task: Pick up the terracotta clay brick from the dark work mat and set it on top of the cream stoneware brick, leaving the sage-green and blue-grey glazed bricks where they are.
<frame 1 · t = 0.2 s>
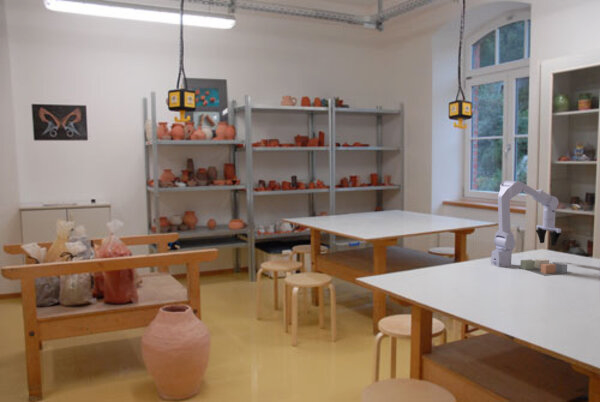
hand: (547, 244, 261), 10 cm above the table, tool pointing down, fingers open, 7 cm apart
bluegrey brick: (559, 271, 240), resting on work mat
cream brick: (541, 267, 248), resting on work mat
terracotta brick: (547, 272, 238), resting on work mat
work mat: (543, 271, 242), on the table
sage brick: (527, 268, 247), resting on work mat
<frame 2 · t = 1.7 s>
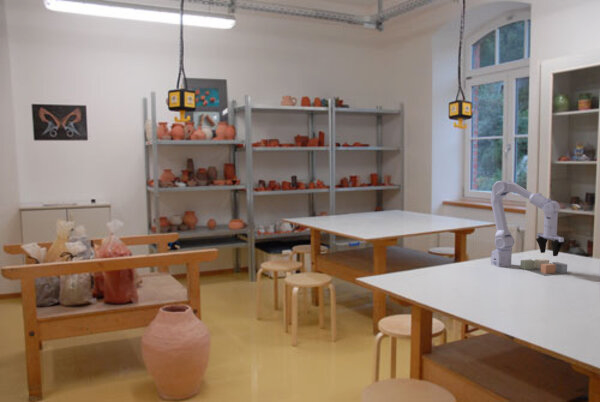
hand: (548, 254, 237), 9 cm above the table, tool pointing down, fingers open, 7 cm apart
nothing on the table moved.
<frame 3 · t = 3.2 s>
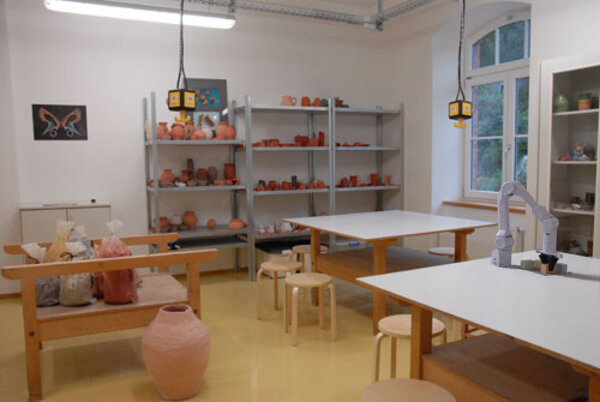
hand: (548, 270, 238), 2 cm above the table, tool pointing down, fingers closed on terracotta brick, 3 cm apart
terracotta brick: (547, 272, 238), resting on work mat, touching gripper
everything else where it was.
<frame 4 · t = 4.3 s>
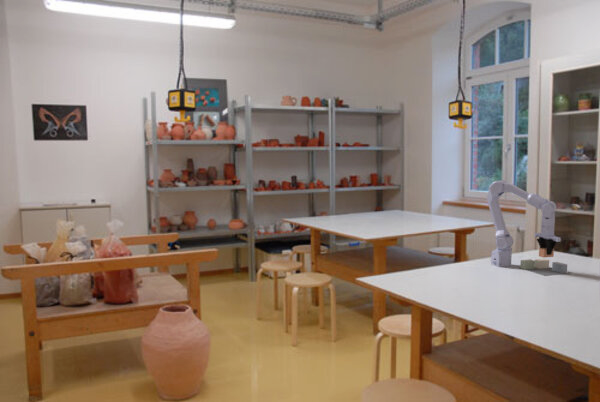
hand: (546, 253, 241), 9 cm above the table, tool pointing down, fingers closed on terracotta brick, 3 cm apart
terracotta brick: (546, 256, 241), point 8 cm above the table, touching gripper
everything else where it was.
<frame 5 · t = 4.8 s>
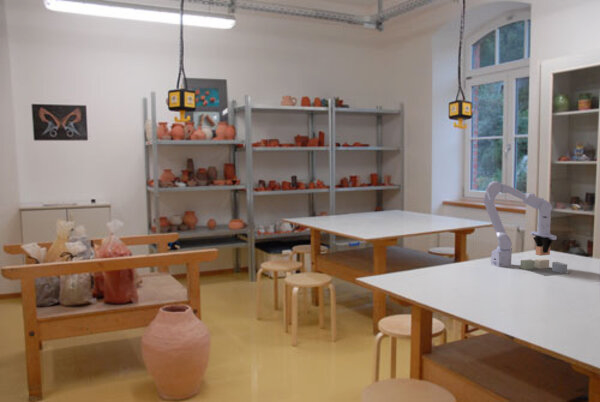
hand: (542, 251, 248), 9 cm above the table, tool pointing down, fingers closed on terracotta brick, 3 cm apart
terracotta brick: (542, 254, 248), point 7 cm above the table, touching gripper
everything else where it was.
when the fingers open (7 cm above the table, at t = 5.3 s): terracotta brick stays where it is, resting on cream brick.
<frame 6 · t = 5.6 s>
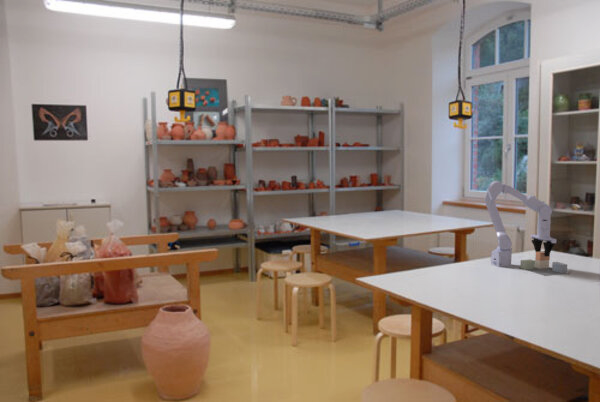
hand: (542, 255, 248), 7 cm above the table, tool pointing down, fingers open, 5 cm apart
cream brick: (541, 267, 248), resting on work mat, touching terracotta brick
terracotta brick: (542, 259, 248), point 4 cm above the table, touching cream brick
everything else where it was.
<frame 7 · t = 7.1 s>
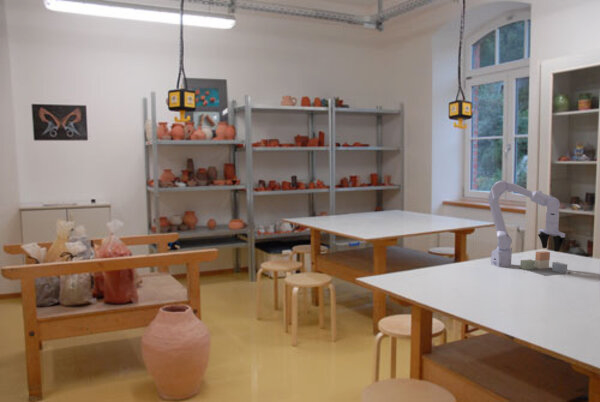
hand: (550, 249, 244), 10 cm above the table, tool pointing down, fingers open, 7 cm apart
nothing on the table moved.
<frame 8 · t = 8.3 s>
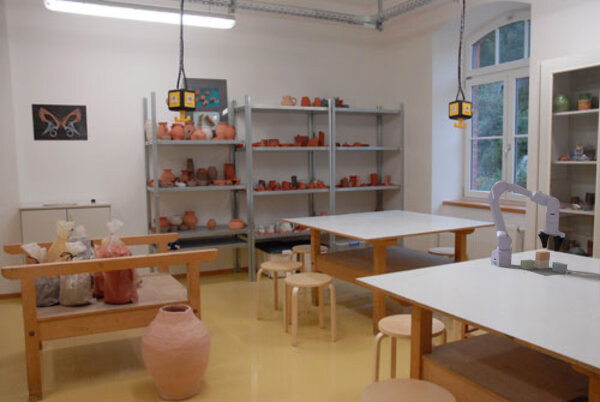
hand: (550, 249, 244), 10 cm above the table, tool pointing down, fingers open, 7 cm apart
nothing on the table moved.
at the end: terracotta brick 0.1 cm off-centre on the cream brick, point 4.0 cm above the cream brick's base; sage brick moved 0.0 cm from its start; bluegrey brick moved 0.0 cm from its start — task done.
